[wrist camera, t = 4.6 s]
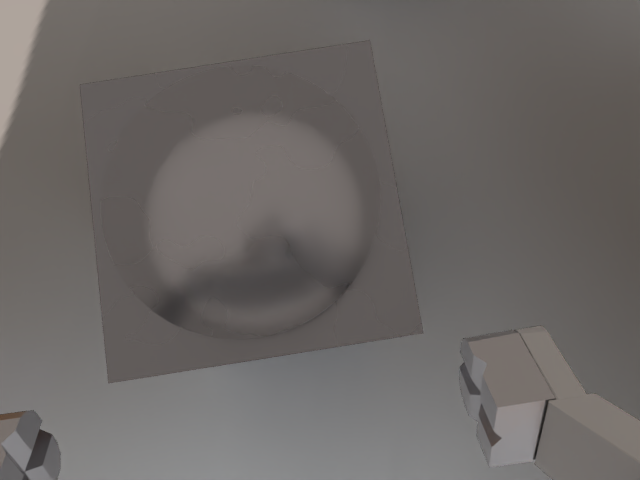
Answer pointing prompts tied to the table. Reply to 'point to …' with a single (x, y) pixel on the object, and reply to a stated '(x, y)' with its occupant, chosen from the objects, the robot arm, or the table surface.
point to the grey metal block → (245, 212)
